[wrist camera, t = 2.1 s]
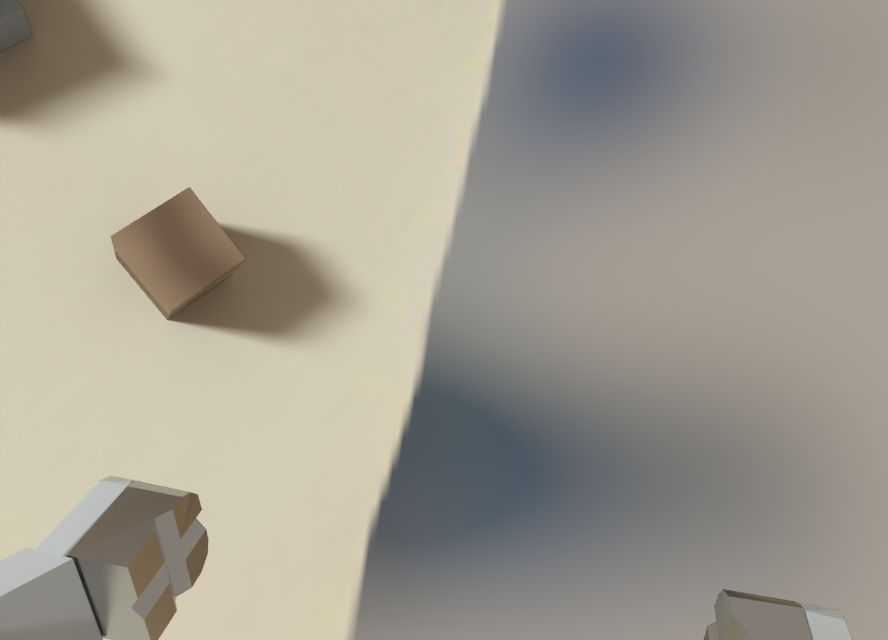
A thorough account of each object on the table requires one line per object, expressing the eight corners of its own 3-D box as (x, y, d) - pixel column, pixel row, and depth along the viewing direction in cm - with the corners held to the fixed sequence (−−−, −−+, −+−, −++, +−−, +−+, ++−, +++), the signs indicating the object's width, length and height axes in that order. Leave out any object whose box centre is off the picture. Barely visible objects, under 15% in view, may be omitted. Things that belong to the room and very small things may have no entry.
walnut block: (167, 320, 45) (171, 310, 37) (116, 258, 44) (110, 236, 36) (229, 276, 46) (245, 258, 39) (182, 216, 45) (189, 186, 38)
